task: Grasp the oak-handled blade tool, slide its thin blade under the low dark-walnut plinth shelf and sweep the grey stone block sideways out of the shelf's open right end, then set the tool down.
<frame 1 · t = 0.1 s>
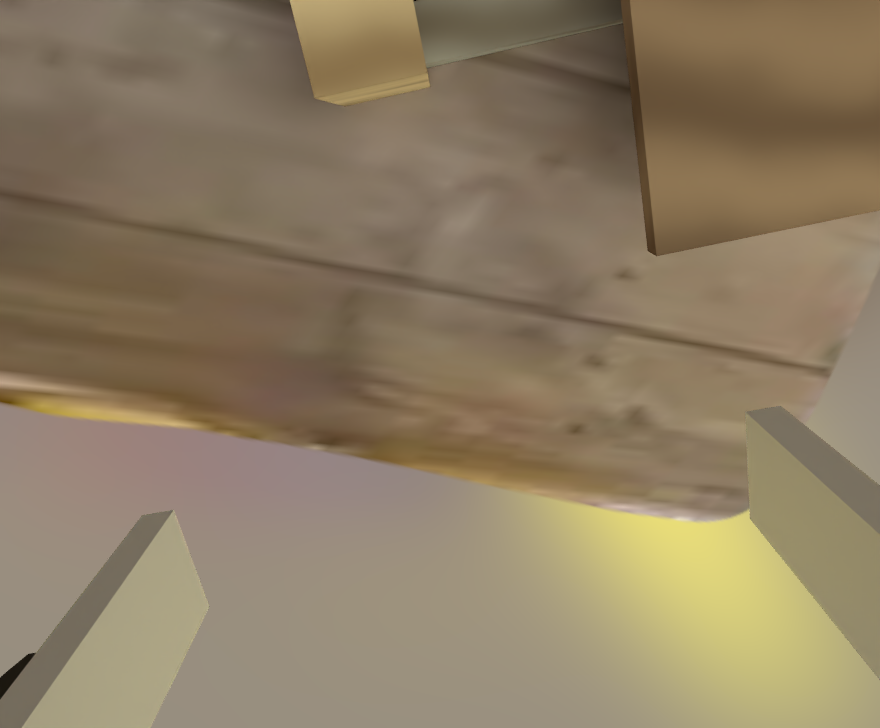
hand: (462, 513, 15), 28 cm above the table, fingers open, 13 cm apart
tool: (377, 49, 38), on the table
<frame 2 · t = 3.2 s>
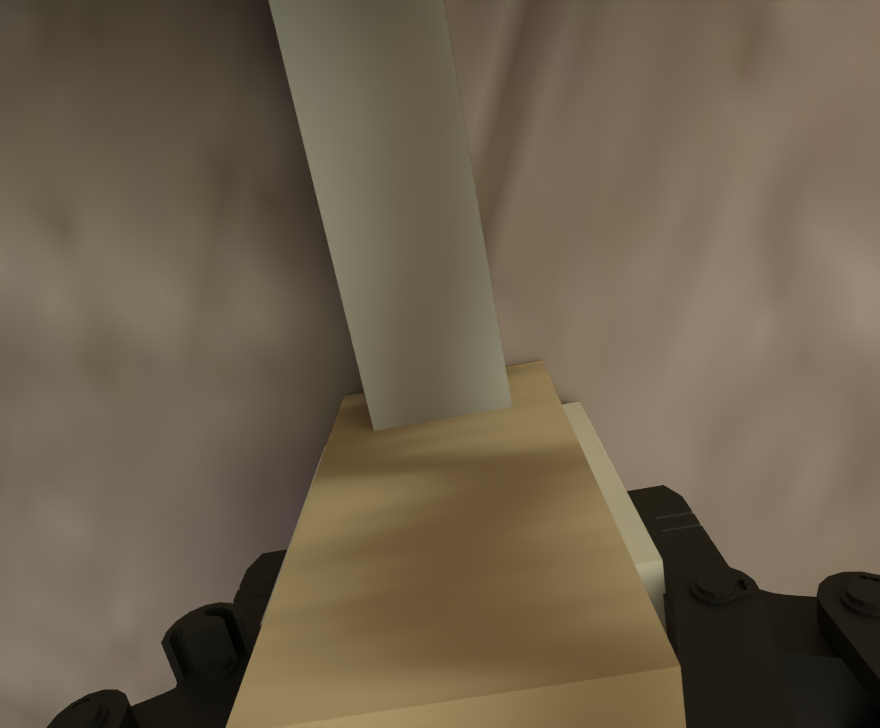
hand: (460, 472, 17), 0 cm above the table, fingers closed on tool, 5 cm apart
tool: (459, 466, 17), on the table, touching gripper
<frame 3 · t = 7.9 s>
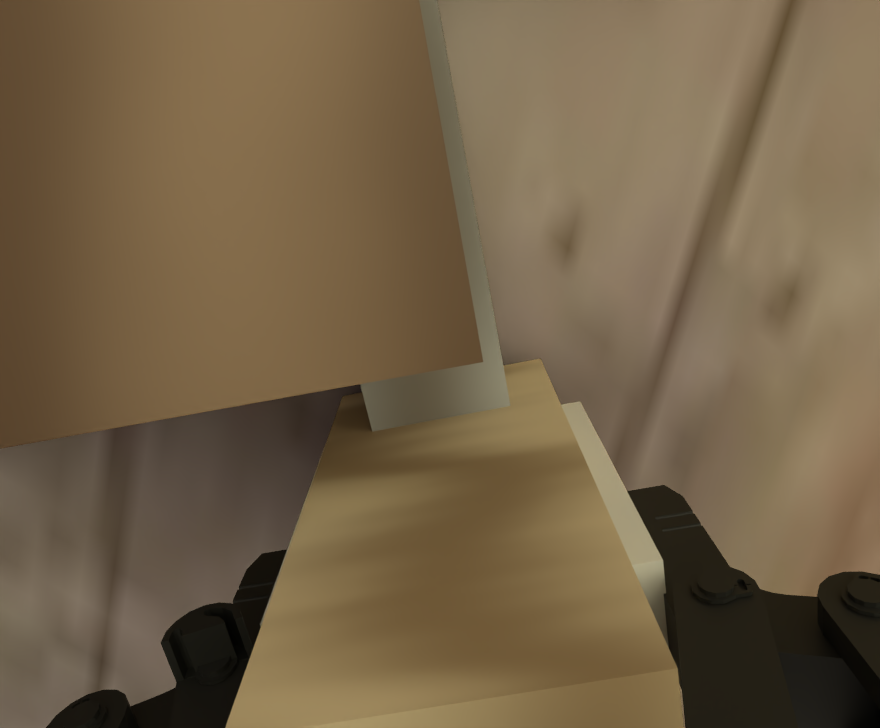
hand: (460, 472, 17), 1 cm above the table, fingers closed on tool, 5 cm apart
tool: (459, 465, 17), point 1 cm above the table, touching gripper
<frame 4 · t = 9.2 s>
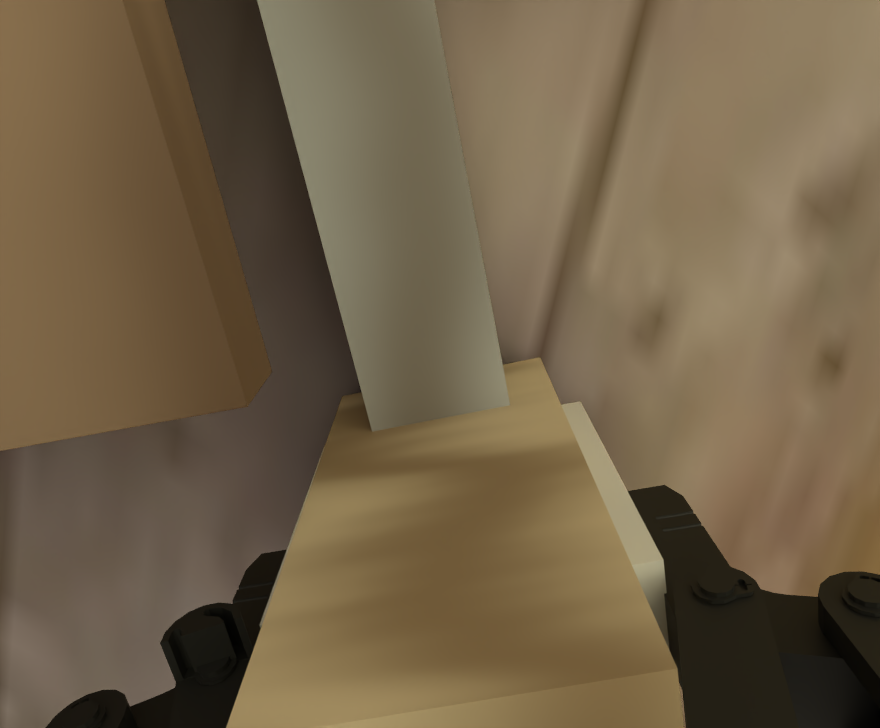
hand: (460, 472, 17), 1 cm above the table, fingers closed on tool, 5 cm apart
tool: (459, 464, 17), point 1 cm above the table, touching gripper
when the fingers open (0 cm above the table, at t = 11.5 s): tool stays where it is, on the table.
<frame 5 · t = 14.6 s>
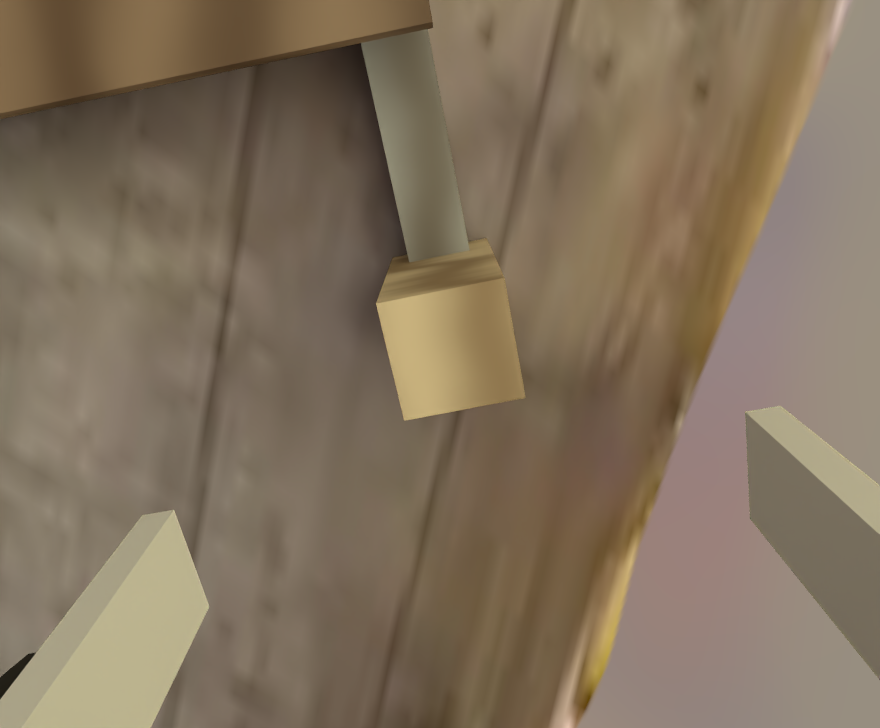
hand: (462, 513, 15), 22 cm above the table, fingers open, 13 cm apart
tool: (448, 293, 36), on the table
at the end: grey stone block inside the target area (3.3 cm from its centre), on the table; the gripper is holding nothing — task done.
